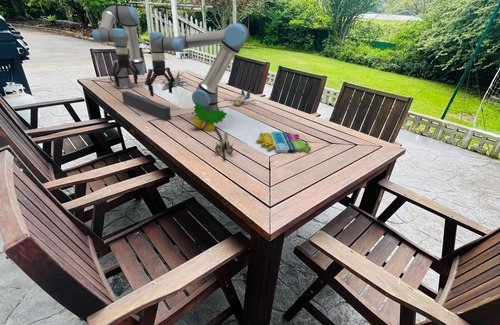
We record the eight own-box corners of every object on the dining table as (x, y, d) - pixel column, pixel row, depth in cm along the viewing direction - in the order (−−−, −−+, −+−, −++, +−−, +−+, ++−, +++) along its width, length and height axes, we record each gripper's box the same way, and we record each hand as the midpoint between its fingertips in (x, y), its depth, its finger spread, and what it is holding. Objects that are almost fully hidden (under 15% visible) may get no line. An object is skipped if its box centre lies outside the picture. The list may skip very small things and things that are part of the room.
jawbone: (234, 135, 144) (233, 125, 135) (233, 160, 138) (232, 151, 129) (217, 135, 144) (216, 125, 135) (216, 160, 138) (214, 150, 129)
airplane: (153, 81, 261) (151, 71, 256) (184, 80, 275) (183, 70, 270) (160, 92, 233) (159, 80, 228) (195, 89, 246) (194, 78, 241)
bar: (170, 119, 174) (169, 107, 170) (165, 120, 171) (163, 108, 167) (129, 101, 201) (127, 91, 197) (123, 103, 198) (121, 92, 194)
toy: (261, 91, 228) (254, 99, 202) (261, 99, 231) (253, 108, 205) (231, 87, 233) (220, 95, 207) (230, 95, 236) (219, 104, 210)
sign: (313, 150, 142) (258, 149, 139) (312, 153, 143) (258, 152, 140) (301, 132, 164) (254, 130, 161) (301, 134, 165) (254, 133, 162)
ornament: (218, 133, 171) (224, 110, 169) (221, 134, 163) (227, 111, 161) (186, 125, 162) (192, 101, 160) (189, 126, 155) (195, 101, 153)
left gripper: (136, 52, 190) (140, 81, 200) (101, 54, 172) (107, 86, 183) (141, 53, 186) (145, 83, 196) (106, 55, 169) (113, 88, 179)
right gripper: (172, 58, 171) (174, 90, 182) (136, 60, 155) (140, 95, 165) (179, 59, 167) (180, 92, 178) (142, 62, 150) (146, 98, 161)
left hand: (127, 85), depth 190 cm, fingers open, 13 cm apart
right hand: (161, 94), depth 171 cm, fingers open, 13 cm apart
